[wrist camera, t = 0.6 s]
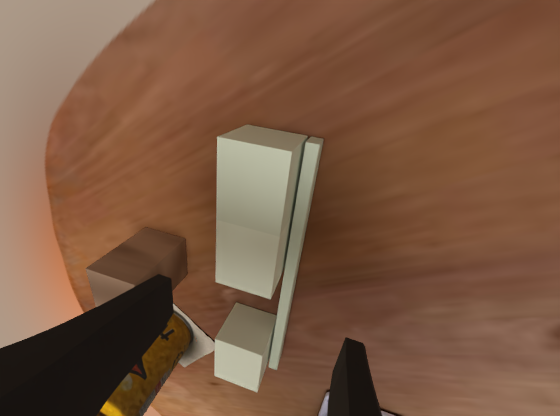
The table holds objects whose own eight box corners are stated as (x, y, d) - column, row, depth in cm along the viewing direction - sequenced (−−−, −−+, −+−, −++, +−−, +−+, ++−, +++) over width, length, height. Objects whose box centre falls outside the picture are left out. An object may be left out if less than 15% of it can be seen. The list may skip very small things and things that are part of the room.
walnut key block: (187, 273, 25) (141, 325, 20) (150, 262, 26) (96, 308, 21) (185, 238, 23) (134, 284, 18) (145, 227, 24) (85, 268, 19)
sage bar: (281, 354, 26) (268, 396, 23) (233, 337, 27) (214, 375, 24) (323, 138, 16) (311, 155, 13) (247, 124, 17) (217, 136, 14)
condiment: (161, 291, 28) (37, 422, 17) (221, 346, 29) (138, 499, 18) (132, 317, 31) (14, 438, 21) (186, 364, 32) (100, 502, 22)
